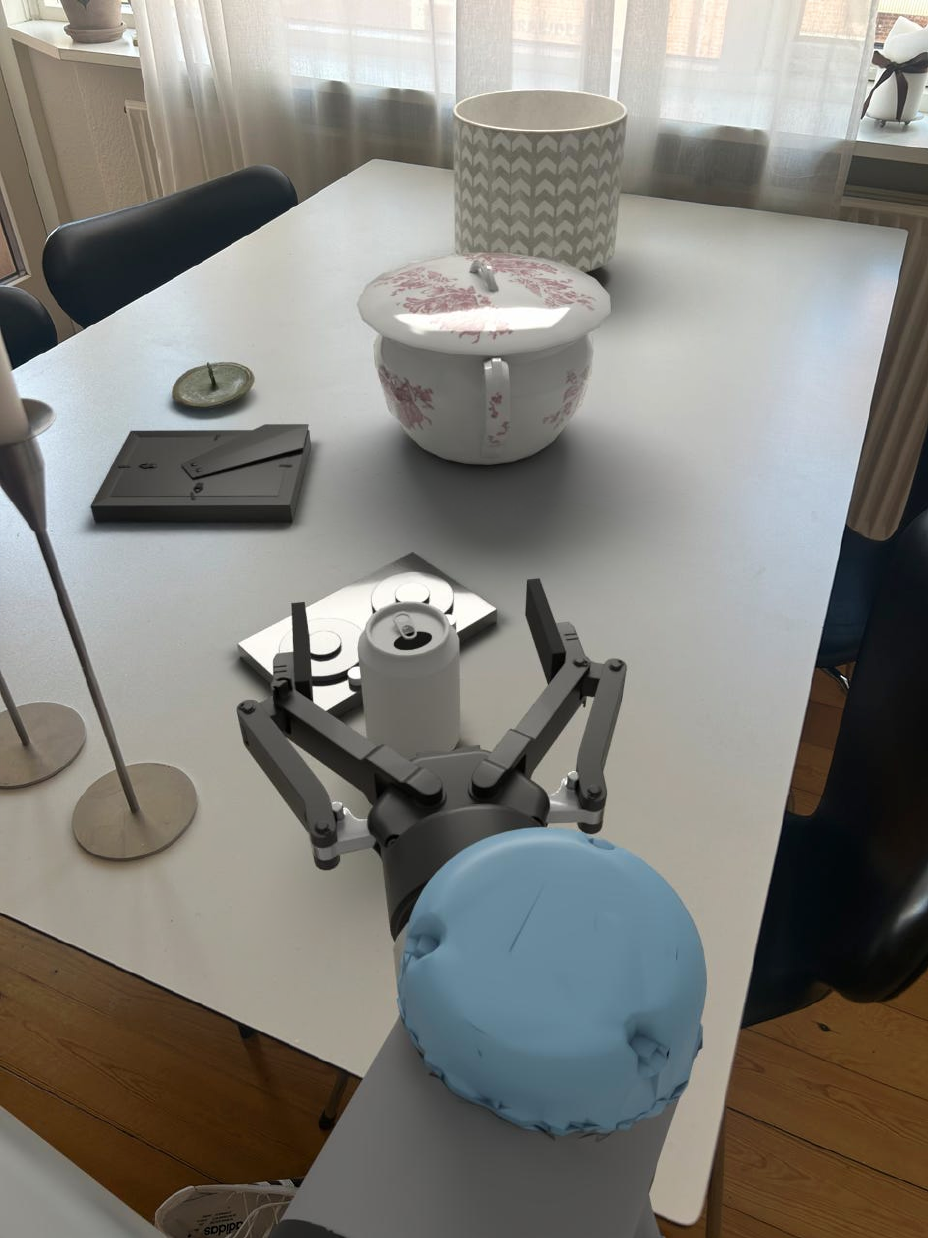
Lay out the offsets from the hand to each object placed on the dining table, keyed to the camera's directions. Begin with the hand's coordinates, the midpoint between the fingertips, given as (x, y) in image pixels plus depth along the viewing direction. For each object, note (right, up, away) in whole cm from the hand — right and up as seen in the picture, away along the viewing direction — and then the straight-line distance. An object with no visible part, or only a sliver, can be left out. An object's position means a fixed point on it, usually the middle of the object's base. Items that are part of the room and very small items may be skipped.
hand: (418, 607), depth 56 cm
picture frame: (-26, +14, +51) cm, 59 cm away
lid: (-29, +28, +67) cm, 78 cm away
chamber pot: (+5, +21, +59) cm, 62 cm away
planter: (+14, +54, +98) cm, 113 cm away
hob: (-6, -2, +31) cm, 31 cm away
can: (-1, -10, +21) cm, 24 cm away
